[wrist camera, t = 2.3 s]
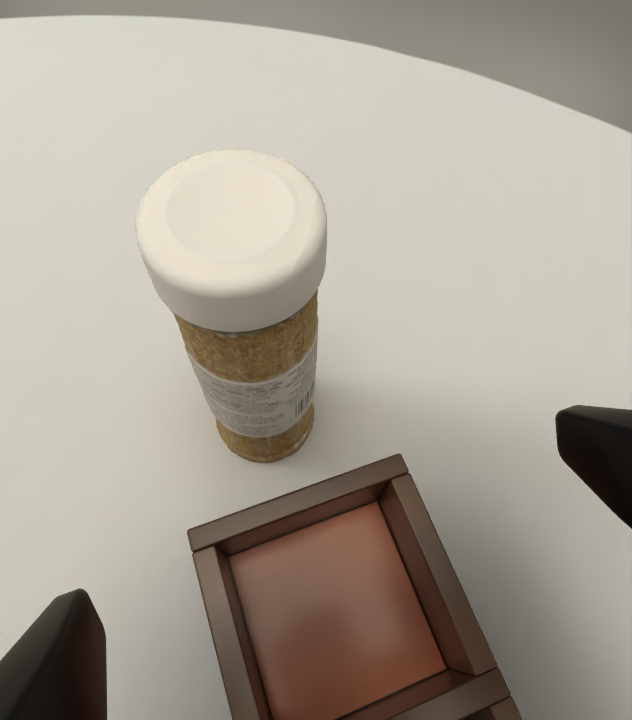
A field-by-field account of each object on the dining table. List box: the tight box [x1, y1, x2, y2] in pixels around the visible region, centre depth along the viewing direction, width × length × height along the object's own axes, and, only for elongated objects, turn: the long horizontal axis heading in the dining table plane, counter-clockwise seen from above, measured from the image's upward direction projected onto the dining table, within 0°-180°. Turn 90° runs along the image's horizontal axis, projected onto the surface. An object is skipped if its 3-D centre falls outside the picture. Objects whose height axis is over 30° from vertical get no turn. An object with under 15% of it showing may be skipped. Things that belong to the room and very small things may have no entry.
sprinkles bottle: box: [136, 149, 327, 462], centre depth 18 cm, size 5×5×14 cm
